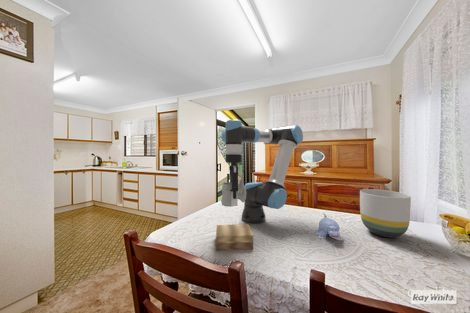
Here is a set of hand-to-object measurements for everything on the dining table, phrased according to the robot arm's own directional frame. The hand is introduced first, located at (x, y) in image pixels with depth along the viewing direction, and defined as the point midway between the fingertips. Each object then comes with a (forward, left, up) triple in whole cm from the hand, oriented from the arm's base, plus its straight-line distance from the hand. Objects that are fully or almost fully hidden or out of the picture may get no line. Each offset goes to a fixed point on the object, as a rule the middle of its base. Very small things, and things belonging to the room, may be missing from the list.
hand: (233, 202), depth 80 cm
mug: (0, 0, -1) cm, 1 cm away
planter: (-77, -1, -19) cm, 79 cm away
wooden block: (0, 0, -19) cm, 19 cm away
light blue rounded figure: (-48, -1, -19) cm, 51 cm away
